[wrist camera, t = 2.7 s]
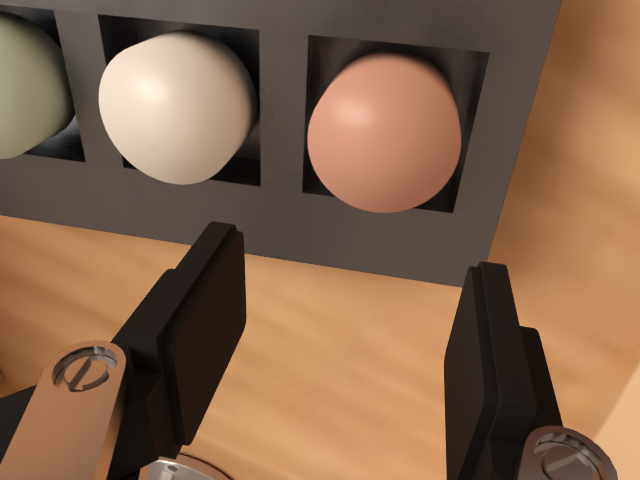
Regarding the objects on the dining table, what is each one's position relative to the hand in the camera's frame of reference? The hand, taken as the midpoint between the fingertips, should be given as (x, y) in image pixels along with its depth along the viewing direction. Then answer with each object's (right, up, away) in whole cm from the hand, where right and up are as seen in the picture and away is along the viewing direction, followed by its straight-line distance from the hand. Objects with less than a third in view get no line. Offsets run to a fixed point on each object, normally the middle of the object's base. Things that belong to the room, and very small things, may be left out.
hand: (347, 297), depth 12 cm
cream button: (-6, +8, +12) cm, 16 cm away
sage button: (-15, +9, +13) cm, 22 cm away
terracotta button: (+2, +7, +11) cm, 13 cm away
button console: (-6, +9, +14) cm, 18 cm away
